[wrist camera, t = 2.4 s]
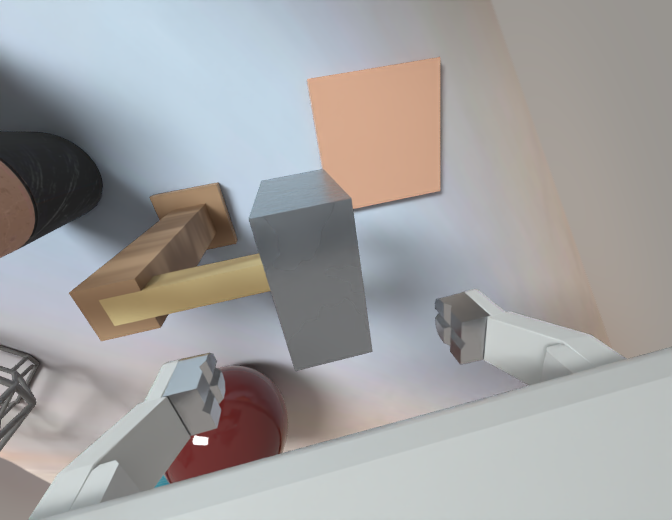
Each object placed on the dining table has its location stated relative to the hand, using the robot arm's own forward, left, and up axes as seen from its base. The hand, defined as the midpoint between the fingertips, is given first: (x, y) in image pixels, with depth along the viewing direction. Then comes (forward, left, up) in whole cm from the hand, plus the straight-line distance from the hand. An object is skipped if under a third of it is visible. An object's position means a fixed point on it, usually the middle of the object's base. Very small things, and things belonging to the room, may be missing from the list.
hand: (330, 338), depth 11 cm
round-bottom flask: (+22, -13, -22) cm, 33 cm away
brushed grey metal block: (0, 0, -11) cm, 11 cm away
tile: (-4, +9, -22) cm, 24 cm away
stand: (0, -5, -21) cm, 22 cm away
